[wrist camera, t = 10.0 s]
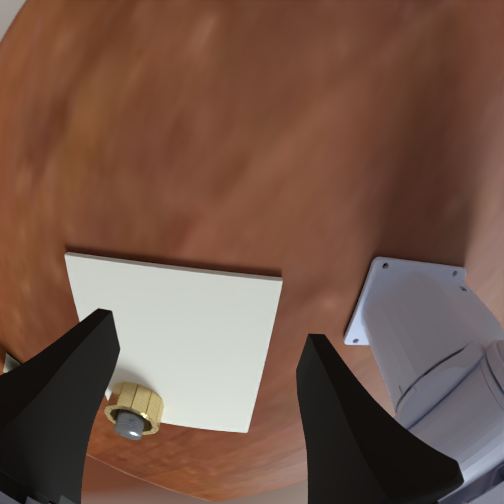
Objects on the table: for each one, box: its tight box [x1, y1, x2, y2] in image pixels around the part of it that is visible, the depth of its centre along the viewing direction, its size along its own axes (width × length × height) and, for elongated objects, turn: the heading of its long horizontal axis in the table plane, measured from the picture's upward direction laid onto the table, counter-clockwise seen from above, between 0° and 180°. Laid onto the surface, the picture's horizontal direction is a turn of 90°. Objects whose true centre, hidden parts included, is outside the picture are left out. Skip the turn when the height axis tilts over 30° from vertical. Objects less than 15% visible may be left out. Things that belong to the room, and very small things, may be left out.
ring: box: [104, 382, 164, 435], centre depth 25 cm, size 6×6×3 cm
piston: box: [114, 409, 146, 440], centre depth 24 cm, size 3×3×4 cm
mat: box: [65, 252, 283, 433], centre depth 24 cm, size 16×21×1 cm
